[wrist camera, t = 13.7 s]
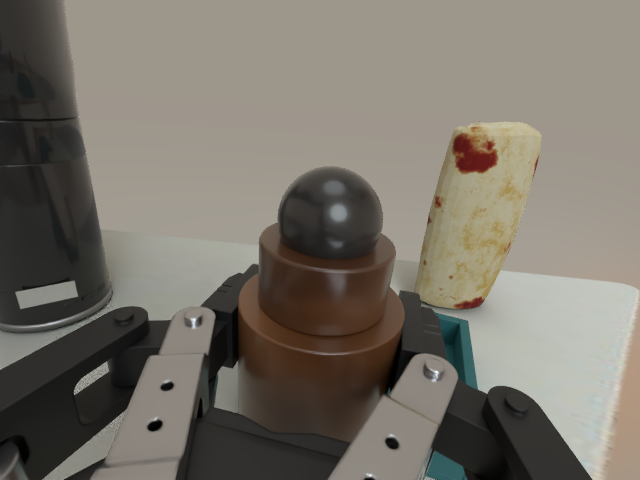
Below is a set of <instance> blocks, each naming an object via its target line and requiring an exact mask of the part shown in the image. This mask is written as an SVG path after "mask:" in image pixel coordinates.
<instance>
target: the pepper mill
mask: <svg viewBox="0 0 640 480" xmlns="http://www.w3.org/2000/svg"><path fill="white" fill-rule="evenodd" d="M382 223H383V213H382V208H381V204H380V201H379V198H378V196H377V194H376V192H375V191H374V189H373V188H372V186H371V185H370V184H369V183H368V182H367V181H366V180H365V179H364V178H362V177H361V176H360V175H358V174H356V173H355V172H353V171H350V170H348V169H345V168H340V167H321V168H316V169H313V170H310V171H308V172H306V173H304V174H303V175H301V176H300V177H298V178H297V179H296V180H295V181H294V182H293V183H292V184H291V185H290V186H289V187H288V189H287V190H286V192H285V194H284V195H283V197H282V200H281V203H280V206H279V210H278V223H275V224H273V225H271V226H269V227H267V228H266V229H265V230H264V231H263V232H262V234H261V236H260V239H259V273H258V274H256V275H254V276H253V277H252V278H251V279H249V280H248V281H247V282H246V283H245V285H244V286H243V288H242V289H241V291H240V294H239V297H238V398H239V414H241V415H244V416H245V417H247V418H249V419H251V420H253V421H254V422H256V423H258V424H260V425H261V426H263V427H265V428H267V429H269V430H270V431H273V432H276V433H315V434H319V435H323V436H327V437H331V438H335V439H338V440H342V441H346V442H350V444H351V442H352V441H353V439H354V438H355V436H356V435H357V433H358V432H359V430H360V428H361V427H362V425H363V424H364V422H365V421H366V419H367V418H368V416H369V415H370V413H371V411H372V410H373V408H374V407H375V405H376V404H377V402H378V401H379V399H380V398H381V396H382V395H383V394H387V395H388V392H389V388H390V383H391V379H392V374H393V369H394V365H395V360H396V356H397V351H398V346H399V342H400V337H401V333H402V328H403V324H404V316H405V313H404V308H403V305H402V302H401V300H400V298H399V297H398V295H397V294H396V293H395V292H394V291H393V290H392V289H391V288H390V282H391V277H392V272H393V267H394V261H395V255H396V251H395V247H394V245H393V243H392V242H391V241H390V239H388V238H387V237H386V236H385V235H383V234H381V230H382V225H383V224H382Z"/></svg>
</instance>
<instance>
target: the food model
mask: <svg viewBox="0 0 640 480" xmlns="http://www.w3.org/2000/svg"><path fill="white" fill-rule="evenodd" d="M541 141H542V137H541V133H540V132H538V131H537V130H536V129H534V128H533V127H531V126H529V125H527V124H526V123H519V122H496V123H481V122H476V123H473V124H470V125H468V126H465V127H464V126H462V127H457V128H456V129H455V130H454V132H453V134H452V137H451V140H450V143H449V146H448V149H447V153H446V156H445V160H444V163H443V166H442V170H441V173H440V176H439V180H438V184H437V188H436V192H435V194H434V198H433V201H432V205H431V208H430V212H429V218H428V223H427V229H426V233H425V237H424V241H423V246H422V252H421V258H420V265H419V270H418V276H417V280H416V285H415V293H418V294H419V295H420V300H422V301H424V302H426V303H427V304H430V305H433V306H438V307H444V308H452V309H469V308H475V307H478V306H480V305H481V304H482V303H483V302H484V300H485V298H486V296H487V295H488V293H489V292H490V290H491V288H492V286H493V284H494V282H495V280H496V278H497V275H498V273H499V271H500V269H501V267H502V264H503V263H504V260H505V258H506V256H507V254H508V252H509V250H510V247H511V245H512V243H513V241H514V238H515V236H516V233H517V230H518V228H519V225H520V221H521V218H522V215H523V212H524V209H525V206H526V203H527V199H528V195H529V192H530V188H531V185H532V181H533V177H534V173H535V170H536V166H537V162H538V158H539V154H540V149H541V143H542V142H541Z"/></svg>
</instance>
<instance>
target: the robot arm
mask: <svg viewBox="0 0 640 480" xmlns="http://www.w3.org/2000/svg"><path fill="white" fill-rule="evenodd" d="M78 116H79V111H78V106H77V100H76V88H75V74H74V66H73V60H72V54H71V48H70V42H69V35H68V26H67V19H66V10H65V1H64V0H0V330H3V331H8V332H17V333H28V332H39V331H45V330H50V329H55V328H59V327H62V326H66V325H69V324H72V323H74V322H77V321H79V320H82V319H84V318H86V317H88V316H90V315H92V314H93V313H95V312H97V311H98V310H99V309H101V308H102V307H103V306H104V305H105V304H106V303H107V302H108V301H109V300H110V298H111V296H112V286H111V283H110V281H109V277H108V271H107V266H106V260H105V253H104V248H103V242H102V237H101V231H100V226H99V220H98V215H97V209H96V204H95V198H94V193H93V187H92V182H91V176H90V171H89V165H88V160H87V154H86V150H85V144H84V139H83V133H82V128H81V122H80V118H79V117H78ZM258 273H259V265H258V264H252V265H251V266H250V267H249V269H248V270H247V271H246V272H245V273H244V274H242V273H238V274H235V275H233V276H231V277H229V278H228V279H227V280H226V281H225V282H224V283H223V284H222V286H220V287H219V288H218V289H217V291H215V292H214V293H213V294H212V295H211V296H210V297H209V298H208V299H207V300H206V301H205V302H204V303H203V304H202V305H201V306H200V307H190V308H186V309H183V310H181V311H179V312H178V313H176V314H175V315H174V316H173V318H172V320H167V321H149V319H148V312H147V311H146V310H145V309H143V308H140V307H134V306H131V307H123V308H119V309H116V310H113V311H111V312H109V313H107V314H105V315H103V316H101V317H99V318H97V319H96V320H94V321H92V322H90V323H88V324H86V325H84V326H82V327H80V328H79V329H77V330H75V331H73V332H71V333H69V334H67V335H65V336H64V337H62V338H60V339H58V340H56V341H54V342H52V343H50V344H48V345H47V346H45V347H43V348H41V349H39V350H37V351H35V352H33V353H32V354H30V355H28V356H26V357H24V358H22V359H20V360H18V361H16V362H15V363H13V364H11V365H9V366H7V367H5V368H3V369H1V370H0V480H42V479H43V478H44V477H45V476H47V475H48V474H49V473H50V472H51V471H53V470H54V469H55V468H56V467H57V466H59V465H60V464H61V463H62V462H63V461H65V460H66V459H67V458H68V457H69V456H71V455H72V454H73V453H74V452H75V451H77V450H78V449H79V448H80V447H81V446H83V445H84V444H85V443H86V442H87V441H89V440H90V439H91V438H92V437H93V436H95V435H96V434H97V433H98V432H99V431H101V430H102V429H103V428H104V427H106V426H107V425H108V424H109V423H110V422H112V421H113V420H114V419H115V418H116V417H118V416H119V415H120V414H121V413H122V412H124V411H125V410H126V409H127V410H126V412H125V415H124V417H123V419H122V422H121V424H120V427H119V429H118V431H117V434H116V436H115V439H114V441H113V443H112V446H111V448H110V451H109V453H108V455H107V457H106V458H104V459H102V460H100V461H98V462H96V463H94V464H92V465H91V466H89V467H87V468H85V469H83V470H81V471H79V472H77V473H75V474H74V475H72V476H70V477H68V478H66V479H64V480H424V479H425V476H426V474H427V471H428V468H429V466H430V463H431V460H432V458H433V455H434V452H435V451H436V452H438V453H440V454H442V455H443V456H445V457H447V458H449V459H450V460H452V461H454V462H456V463H458V464H459V465H461V466H463V470H464V473H465V475H466V478H467V480H592V478H591V477H590V476H589V474H588V473H587V472H586V470H585V469H584V467H583V466H582V465H581V463H580V462H579V460H578V459H577V458H576V456H575V455H574V453H573V452H572V451H571V449H570V448H569V446H568V445H567V444H566V442H565V441H564V440H563V438H562V437H561V435H560V434H559V433H558V431H557V430H556V428H555V427H554V426H553V424H552V423H551V421H550V420H549V419H548V417H547V416H546V414H545V413H544V412H543V410H542V409H541V408H540V406H539V405H538V404H537V403H536V402H535V401H534V400H533V399H532V398H530V397H529V396H528V395H526V394H524V393H523V392H521V391H519V390H517V389H514V388H511V387H507V386H496V387H493V388H491V389H490V390H489V392H488V394H486V393H484V392H482V391H479V390H477V389H475V388H473V387H471V386H469V385H467V384H465V383H464V382H462V381H461V380H460V379H458V374H457V371H456V369H455V368H454V367H453V366H452V365H451V364H450V363H449V362H448V361H447V356H446V351H445V346H444V341H443V336H442V331H441V326H440V321H439V317H438V316H437V315H436V314H435V312H434V311H433V310H432V309H430V308H424V307H421V302H420V295H419V294H418V293H412V292H407V291H401V290H400V292H399V298H400V300H401V302H402V305H403V308H404V313H405V316H404V324H403V328H402V333H401V337H400V342H399V346H398V351H397V356H396V360H395V365H394V369H393V374H392V379H391V383H390V394H389V396H388V395H387V394H383V395H382V396H381V398H380V399H379V401H378V402H377V404H376V405H375V407H374V408H373V410H372V411H371V413H370V415H369V416H368V418H367V419H366V421H365V422H364V424H363V425H362V427H361V428H360V430H359V432H358V433H357V435H356V436H355V438H354V439H353V441H352V442H351V444H350V442H346V441H342V440H338V439H335V438H331V437H327V436H323V435H319V434H315V433H276V432H273V431H270V430H269V429H267V428H265V427H263V426H261V425H260V424H258V423H256V422H254V421H253V420H251V419H249V418H247V417H245V416H244V415H241V414H237V413H233V412H230V411H226V410H222V409H218V408H214V403H215V396H216V389H217V382H218V371H219V370H220V368H221V367H222V366H224V367H228V368H233V367H234V366H235V364H236V362H237V361H238V297H239V294H240V291H241V289H242V288H243V286H244V285H245V283H246V282H247V281H248V280H249V279H251V278H252V277H253V276H254V275H256V274H258ZM106 361H107V362H108V367H109V372H108V373H106V374H105V375H103V376H102V377H101V378H99V379H98V380H96V381H95V382H93V383H92V384H90V385H89V386H88V387H86V388H85V389H83V390H82V391H80V392H79V393H77V394H76V395H75V396H74V388H75V386H76V384H77V383H78V382H79V380H80V379H81V378H83V377H84V376H85V375H87V374H88V373H90V372H91V371H93V370H94V369H96V368H97V367H99V366H100V365H102V364H103V363H105V362H106Z"/></svg>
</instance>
